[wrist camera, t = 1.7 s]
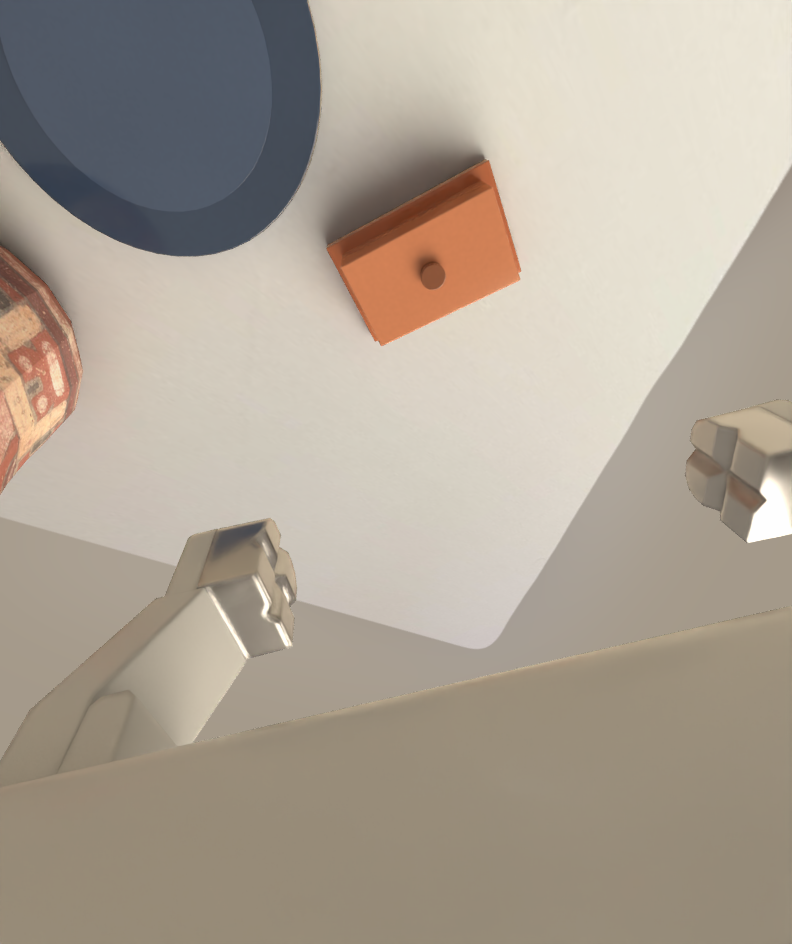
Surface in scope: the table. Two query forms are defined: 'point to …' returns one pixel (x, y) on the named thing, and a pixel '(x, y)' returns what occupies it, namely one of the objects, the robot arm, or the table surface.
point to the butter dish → (429, 255)
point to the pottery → (32, 365)
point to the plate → (163, 113)
